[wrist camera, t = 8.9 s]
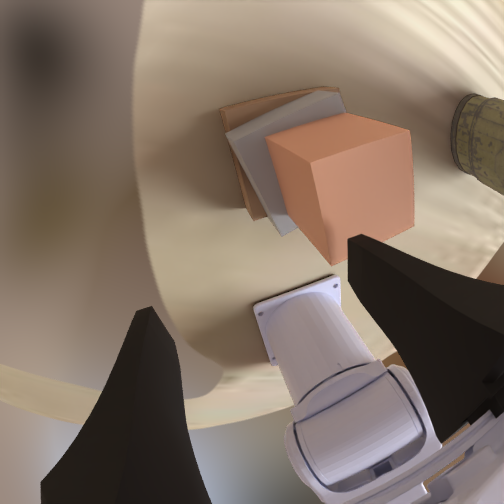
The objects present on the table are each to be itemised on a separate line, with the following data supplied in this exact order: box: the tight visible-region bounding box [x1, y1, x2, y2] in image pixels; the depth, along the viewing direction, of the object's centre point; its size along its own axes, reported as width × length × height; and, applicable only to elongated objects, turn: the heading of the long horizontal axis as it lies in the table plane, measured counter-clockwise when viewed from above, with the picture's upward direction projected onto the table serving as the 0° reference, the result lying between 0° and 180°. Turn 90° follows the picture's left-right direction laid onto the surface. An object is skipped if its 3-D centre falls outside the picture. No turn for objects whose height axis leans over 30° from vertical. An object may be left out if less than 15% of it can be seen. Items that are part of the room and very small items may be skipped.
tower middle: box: [225, 90, 347, 236], centre depth 16 cm, size 6×6×2 cm
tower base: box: [219, 87, 340, 221], centre depth 18 cm, size 7×7×2 cm
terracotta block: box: [265, 113, 414, 266], centre depth 13 cm, size 4×4×5 cm
